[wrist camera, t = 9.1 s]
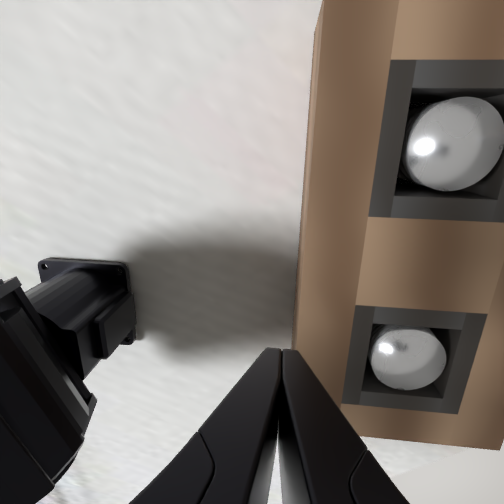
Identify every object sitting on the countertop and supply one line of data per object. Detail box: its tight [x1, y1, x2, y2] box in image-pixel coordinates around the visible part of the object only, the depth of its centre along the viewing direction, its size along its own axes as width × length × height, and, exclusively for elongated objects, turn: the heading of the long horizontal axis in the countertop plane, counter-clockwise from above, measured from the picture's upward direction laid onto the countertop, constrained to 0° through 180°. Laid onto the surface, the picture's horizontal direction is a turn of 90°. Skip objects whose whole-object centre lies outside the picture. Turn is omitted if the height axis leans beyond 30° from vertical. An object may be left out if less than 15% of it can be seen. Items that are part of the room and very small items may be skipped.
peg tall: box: [367, 323, 446, 390], centre depth 19 cm, size 4×4×5 cm
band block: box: [291, 0, 504, 450], centre depth 18 cm, size 12×22×5 cm, turn 179°
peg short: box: [397, 97, 504, 191], centre depth 16 cm, size 4×4×5 cm
